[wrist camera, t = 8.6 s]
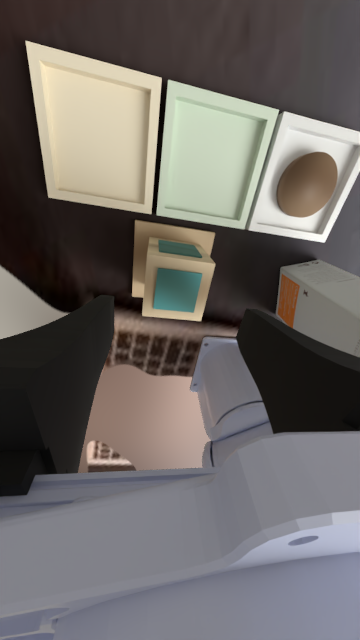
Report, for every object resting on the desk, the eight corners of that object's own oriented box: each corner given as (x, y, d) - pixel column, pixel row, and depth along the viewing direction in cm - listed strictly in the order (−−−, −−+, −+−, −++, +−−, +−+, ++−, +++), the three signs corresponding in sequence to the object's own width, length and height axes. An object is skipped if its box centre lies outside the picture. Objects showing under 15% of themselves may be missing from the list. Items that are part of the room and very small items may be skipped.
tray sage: (239, 227, 19) (244, 229, 18) (156, 213, 18) (156, 215, 17) (270, 115, 15) (279, 109, 14) (167, 87, 14) (168, 79, 13)
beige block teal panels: (190, 290, 21) (201, 322, 16) (145, 284, 20) (141, 316, 15) (199, 242, 19) (216, 262, 14) (149, 235, 18) (147, 252, 13)
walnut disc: (312, 220, 19) (320, 221, 18) (268, 212, 18) (273, 213, 17) (339, 160, 17) (348, 158, 16) (289, 148, 16) (297, 145, 15)
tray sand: (151, 212, 18) (151, 214, 17) (55, 197, 16) (48, 197, 15) (161, 86, 14) (161, 77, 13) (35, 52, 13) (25, 40, 12)
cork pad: (198, 300, 22) (199, 302, 22) (132, 293, 21) (132, 296, 21) (213, 231, 19) (215, 232, 18) (135, 219, 18) (135, 220, 17)
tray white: (316, 240, 20) (324, 242, 19) (243, 228, 19) (248, 230, 18) (362, 140, 16) (376, 136, 15) (275, 116, 15) (284, 111, 14)
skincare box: (278, 266, 21) (388, 334, 11) (318, 258, 21) (466, 318, 11) (273, 315, 25) (356, 402, 14) (309, 309, 25) (416, 391, 14)
